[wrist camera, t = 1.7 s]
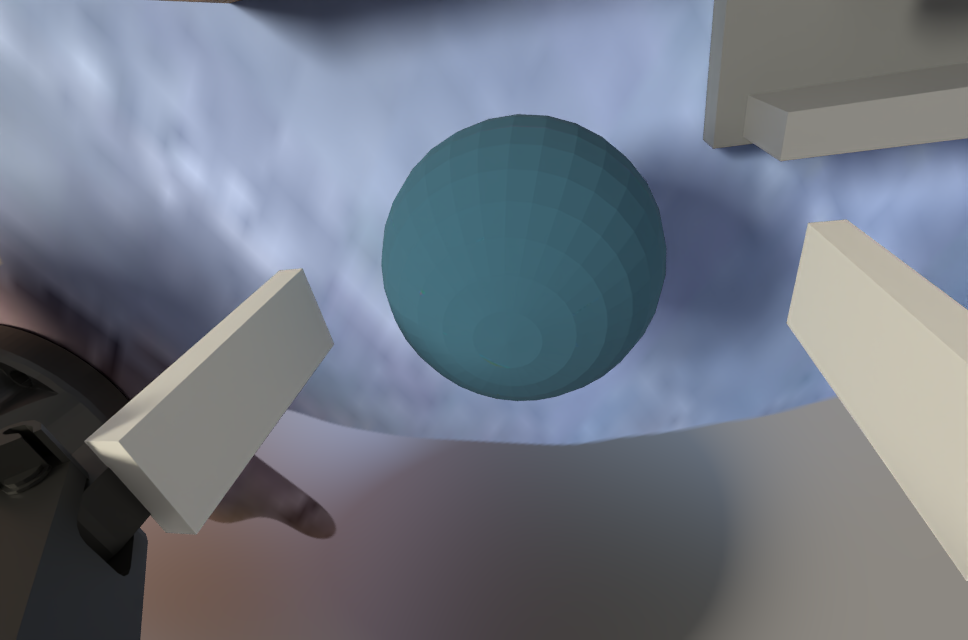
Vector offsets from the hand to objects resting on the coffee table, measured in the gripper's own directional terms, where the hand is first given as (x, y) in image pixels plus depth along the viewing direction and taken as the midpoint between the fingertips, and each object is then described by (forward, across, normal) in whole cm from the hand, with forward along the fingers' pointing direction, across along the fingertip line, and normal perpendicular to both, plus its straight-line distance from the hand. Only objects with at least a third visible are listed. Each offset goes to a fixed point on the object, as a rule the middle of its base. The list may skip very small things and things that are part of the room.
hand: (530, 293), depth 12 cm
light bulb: (+10, -1, 0) cm, 10 cm away
